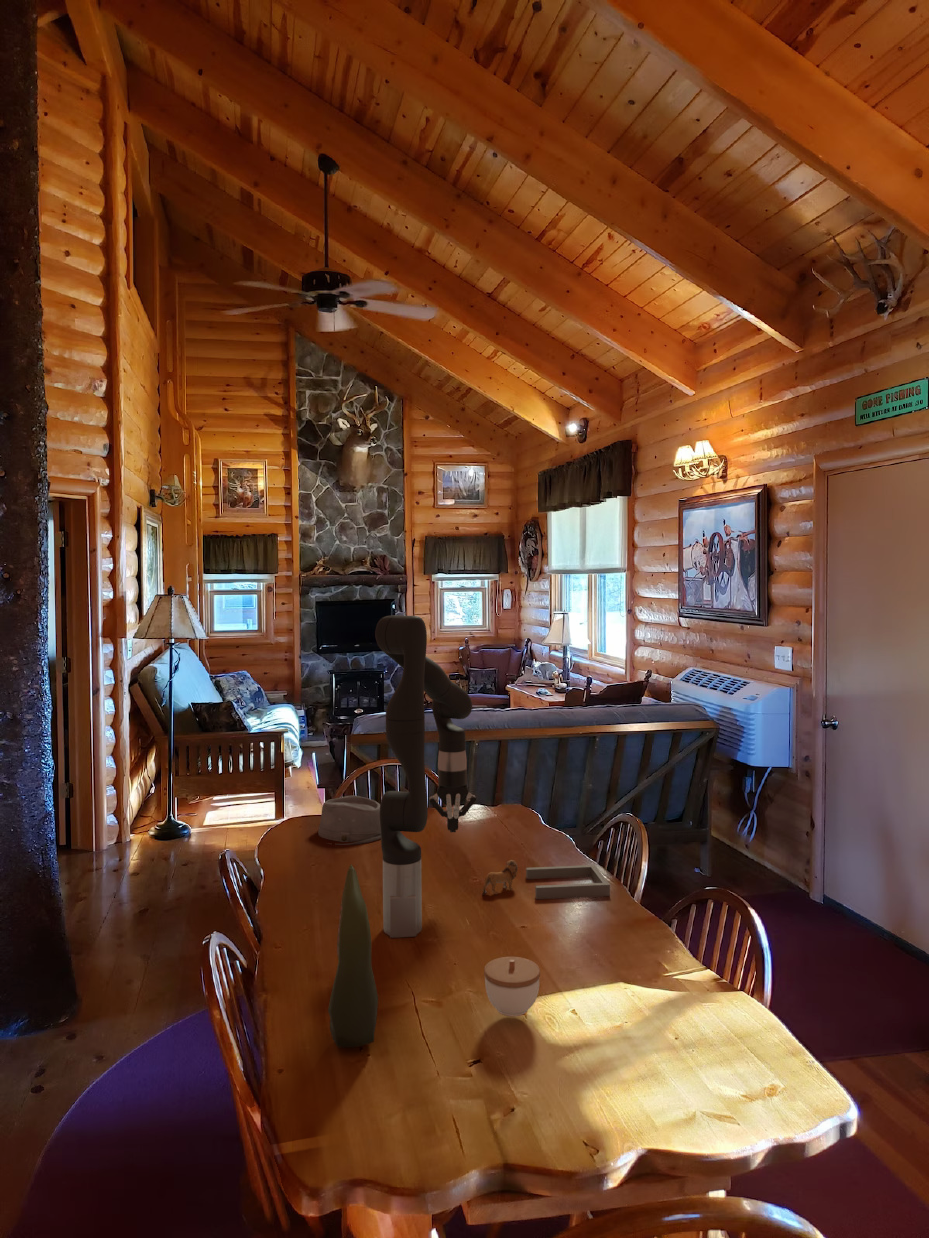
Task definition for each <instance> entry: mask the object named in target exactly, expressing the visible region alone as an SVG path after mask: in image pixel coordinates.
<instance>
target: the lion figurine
mask: <svg viewBox="0 0 929 1238" xmlns="http://www.w3.org/2000/svg"><path fill="white" fill-rule="evenodd" d="M518 868H519V867H518V863H517V861H516V860H513V859H510V860H508V861H507V862H506V863H505V866H504V869H503V870H502V871H499V872H495V871H491V872H489V873H487V875H486V877H485V880H484V884H483V886H482V895H483V896H484V895H485V894H487V890H486V889H487V887H488V886H489V885H491V892H493V893H494V895H499V891H496V887H497V883H498V884H503V886H502V888H503V889H507V888H508V890H509V891H514V889H513V888H512V887H513V886H512V885H513V880H514V879H515V878H516V877H517V874H518ZM507 884H508V886H507Z"/></svg>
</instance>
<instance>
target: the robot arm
mask: <svg viewBox="0 0 929 1238" xmlns="http://www.w3.org/2000/svg"><path fill="white" fill-rule="evenodd" d="M374 631H375V632H374V633H375V635H374V637H375V640H376V644H377V646H378V648H379V649H380V650H381V651H382V652H383V653H384V654H385V655H386V656H388V657H389V658H390V659H392V660H393V661H394V662H395V663H396V664H397V665H399V666H400V667H401V669H403V671H402V676H401V678H400V681H399V684H398V685H397V687H396V688H395V691H394V692H393V694H392V696H391V698H390V699H389V702H388V703H387V706H386V709H385V738H386V741H387V743H388V745H389V748H390V749H391V751H392V752H393V754H394V756H395V757H396V759H397V761H398V762H399V764H400V765H401V767H402V769H403V771H404V774H405V776H406V778H407V779H406V780H407V784H408V789H409V791H403V790H402V791H398V790H387V791H386V792H385V793H383V795H382V797H381V800H380V803H379V804H380V828H381V839H380V845H381V847H380V848H381V852H382V916H383V917H382V918H383V919H382V921H383V925H382V926H383V927H382V928H383V929H382V930H383V932H384V933H385V934H386V935H387V936H389V938H391V939H392V938H393V939H394V938H411V937H412V938H413V937H417V935H418V934H419V933H420V932H421V931H422V930H423V913H422V911H423V909H422V904H423V903H422V901H423V900H422V898H423V897H422V848H421V846H420V844H418V843H417V842H415V841H413V840H411V839H409V838H408V837H406V836H405V835H404V834H403V833H402V832H405V833H407V832H409V833H420V832H422V831H424V829H425V828H426V826H427V824H428V823H427V821H428V817H429V816H428V812H429V807H428V799H429V803H430V804H431V805H432V807H433V808H434V809H435V810H436V811H437V813H438V814H439V815H440V816H441V817H442V818H443V817H445V818H446V825H447V826H446V827H447V830H448V831H449V832H450V833H456V832H457V831H458V829H459V818H460V817H464V816H465V815H466V814H467V813H468V812H469V810H470V809H471V808H472V806H473V805H474V804H475V802H476V801H477V797H476V795H475V794H472V793H471V792H470V791H469V788H468V786H467V785H468V784H467V782H468V780H467V776H468V774H467V772H468V771H467V766H468V765H467V763H468V762H467V753H466V731H465V729H464V728H462V727H460V726H457V725H455V724H454V723H453V721H452V719H454V720H463V719H467V718H468V717H469V716H470V715H471V713H472V710H473V702H472V701H473V700H472V699H471V697H470V695H469V694H468V692H467V691H466V690H465V689H464V688H462V687H461V686H459V685H458V684H456V683H455V682H453V681H452V680H451V679H450V677H449V675H447V674H446V672H445V671H444V669H443V668H442V667H441V666H440V665H439V663H436V662H435V661H434V660H432V659H431V658H430V657H428V656H427V643H428V641H427V640H428V634H427V626H426V623H425V621H424V620H423V618H422V617H421V616H420V615H419V616H418V615H397V614H395V615H394V614H393V615H392V614H391V615H386V616H383V617H381V618H380V619H379V620H378V622H377V624H376V627H375V630H374ZM425 694H426V695H427V697H429V699H431V700H432V702H431V710H432V715H433V718H434V721H435V725H436V728H437V729H436V730H437V733H438V757H437V758H438V759H437V761H438V762H437V768H438V769H437V773H438V776H437V777H438V779H437V781H438V782H437V785H438V787H437V788H436V791H435V792H436V793H434V794H433V795H430V796H429V797H428V794H427V793H428V792H427V779H426V768H425V737H426V736H425V735H426V733H425V732H426V729H425V728H426V727H425V726H426V725H425V724H426V723H425V721H426V720H425V719H426V718H425V717H426V715H425ZM439 799H440V800H441V802H442V803H443V804H444V805H445V807H446V810H444V808H443V807H442V805H440V803H439V801H440V800H439ZM465 799H466V802H465V803H464V805H463V806H462V807H461V808H460V805H461V804H462V803H463V802H464V800H465ZM452 806H453V807H452ZM452 808H453V809H452Z"/></svg>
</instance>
